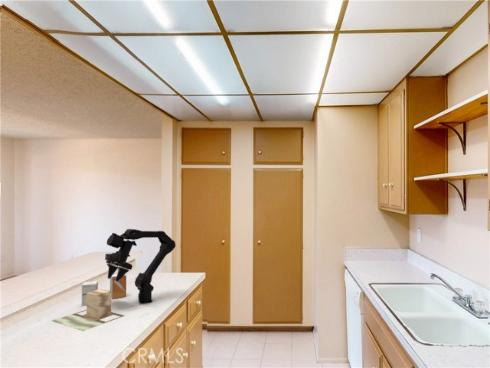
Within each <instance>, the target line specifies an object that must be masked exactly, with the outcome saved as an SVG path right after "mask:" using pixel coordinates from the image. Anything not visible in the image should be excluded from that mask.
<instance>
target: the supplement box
mask: <svg viewBox="0 0 490 368" xmlns="http://www.w3.org/2000/svg"><path fill="white" fill-rule="evenodd" d="M96 290H99V281H98V280H96V281H95V280H94V281H84V282H83V283H82V284H81V307H87V293H88V292H92V291H96Z"/></svg>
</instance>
